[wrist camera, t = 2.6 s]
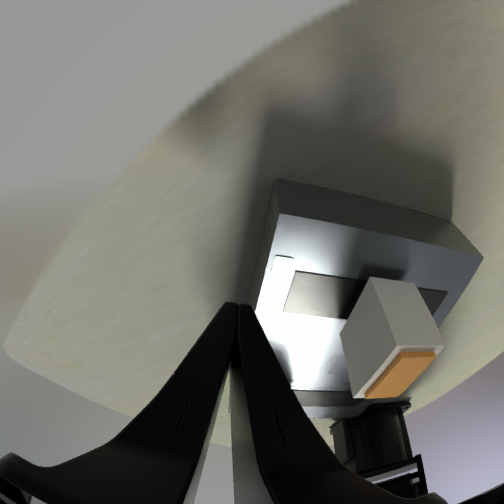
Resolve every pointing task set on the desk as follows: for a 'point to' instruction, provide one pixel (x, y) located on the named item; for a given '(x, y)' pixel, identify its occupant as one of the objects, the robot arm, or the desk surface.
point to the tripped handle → (388, 339)
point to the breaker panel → (344, 280)
